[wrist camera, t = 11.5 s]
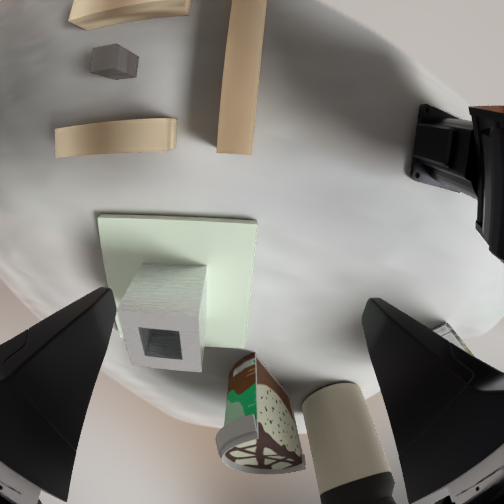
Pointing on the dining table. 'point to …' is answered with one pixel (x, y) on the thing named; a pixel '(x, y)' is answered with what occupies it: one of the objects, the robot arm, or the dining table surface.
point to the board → (187, 262)
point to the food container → (258, 423)
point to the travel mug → (346, 447)
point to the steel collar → (166, 316)
